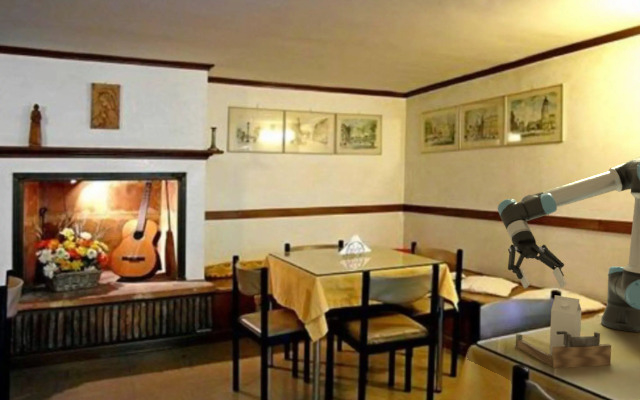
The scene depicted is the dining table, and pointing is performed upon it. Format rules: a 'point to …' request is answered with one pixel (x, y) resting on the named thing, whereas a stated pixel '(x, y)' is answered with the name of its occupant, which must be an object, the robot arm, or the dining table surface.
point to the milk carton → (564, 319)
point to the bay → (571, 351)
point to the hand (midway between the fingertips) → (545, 286)
